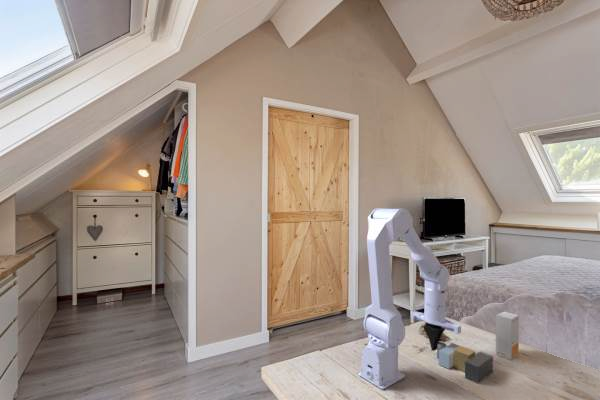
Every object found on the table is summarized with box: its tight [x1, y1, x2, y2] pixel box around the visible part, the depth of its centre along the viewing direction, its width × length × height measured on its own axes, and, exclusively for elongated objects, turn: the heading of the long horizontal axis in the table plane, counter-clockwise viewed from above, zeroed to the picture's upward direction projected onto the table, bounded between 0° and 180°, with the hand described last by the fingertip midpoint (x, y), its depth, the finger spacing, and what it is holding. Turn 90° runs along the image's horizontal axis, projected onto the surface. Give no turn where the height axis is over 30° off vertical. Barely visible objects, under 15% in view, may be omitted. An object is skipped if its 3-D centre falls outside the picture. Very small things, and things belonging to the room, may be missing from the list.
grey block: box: [464, 351, 494, 384], centre depth 80 cm, size 9×3×4 cm, turn 127°
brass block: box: [452, 345, 476, 374], centre depth 83 cm, size 4×4×5 cm
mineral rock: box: [418, 322, 446, 342], centre depth 105 cm, size 11×4×8 cm
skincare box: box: [495, 311, 520, 360], centre depth 91 cm, size 6×4×12 cm
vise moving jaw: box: [436, 341, 460, 370], centre depth 87 cm, size 8×6×4 cm
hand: (434, 349), depth 90 cm, fingers closed
